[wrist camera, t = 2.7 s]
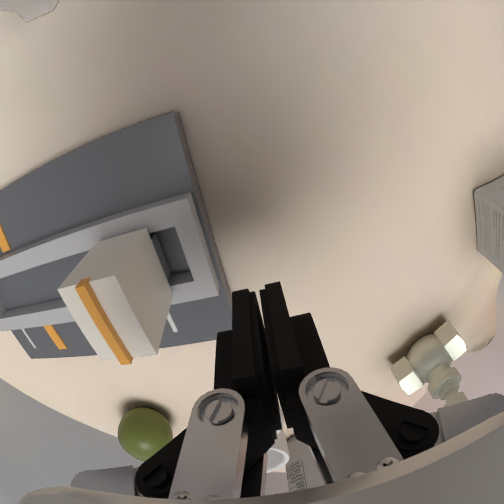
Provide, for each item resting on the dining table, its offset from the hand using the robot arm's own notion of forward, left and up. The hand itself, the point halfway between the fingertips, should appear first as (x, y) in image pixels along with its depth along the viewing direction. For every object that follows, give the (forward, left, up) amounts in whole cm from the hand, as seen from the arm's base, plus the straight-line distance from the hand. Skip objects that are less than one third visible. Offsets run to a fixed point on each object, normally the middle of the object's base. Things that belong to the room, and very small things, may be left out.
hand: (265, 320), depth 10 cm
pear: (+19, -16, -8) cm, 26 cm away
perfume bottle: (-20, -9, -8) cm, 23 cm away
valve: (+14, +13, -8) cm, 21 cm away
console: (-1, -12, -8) cm, 15 cm away
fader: (-1, -6, -6) cm, 9 cm away
